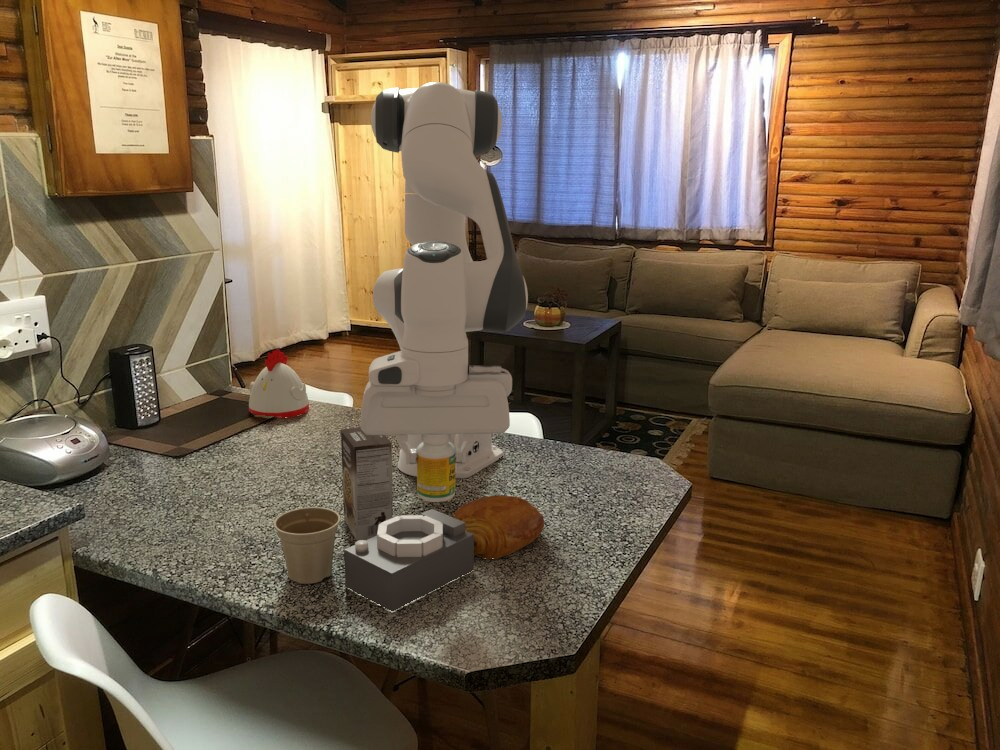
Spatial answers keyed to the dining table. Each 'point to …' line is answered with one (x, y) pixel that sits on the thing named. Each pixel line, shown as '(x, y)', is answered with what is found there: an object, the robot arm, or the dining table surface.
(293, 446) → the dining table surface
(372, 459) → the coffee box
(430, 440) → the supplement bottle
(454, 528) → the camera body
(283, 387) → the kitchen timer
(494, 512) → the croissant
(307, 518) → the flower pot
